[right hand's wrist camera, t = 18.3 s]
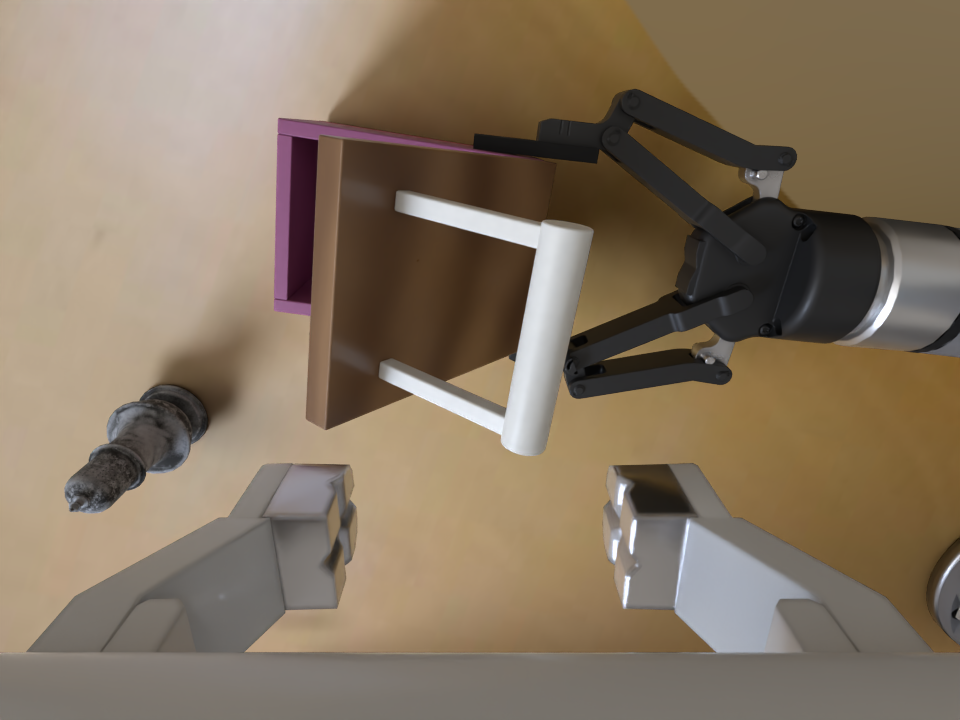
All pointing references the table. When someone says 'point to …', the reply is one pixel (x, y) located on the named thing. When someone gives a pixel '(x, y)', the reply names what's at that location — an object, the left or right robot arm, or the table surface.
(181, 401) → the pewter chess piece
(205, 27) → the table surface
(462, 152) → the lid
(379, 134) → the chest
